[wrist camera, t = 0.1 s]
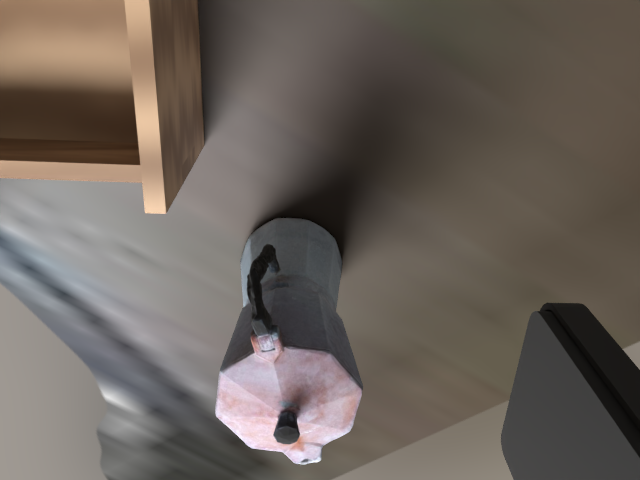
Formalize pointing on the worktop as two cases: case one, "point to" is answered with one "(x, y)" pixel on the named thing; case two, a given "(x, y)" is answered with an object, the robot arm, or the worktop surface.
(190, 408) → the worktop surface
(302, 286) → the moka pot
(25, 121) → the shelf
